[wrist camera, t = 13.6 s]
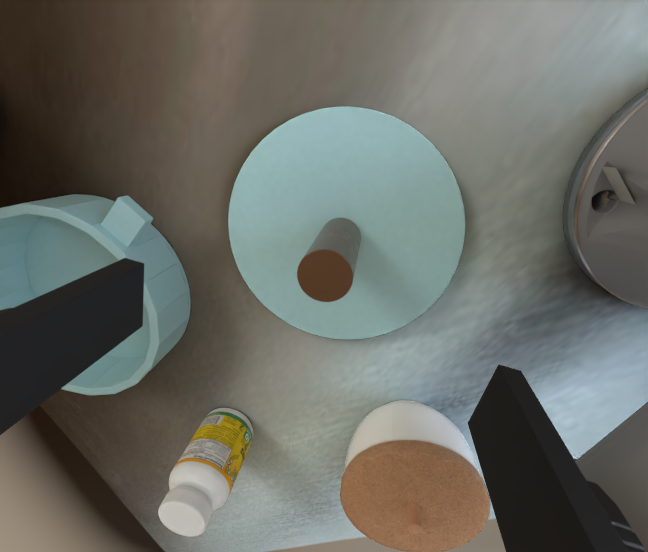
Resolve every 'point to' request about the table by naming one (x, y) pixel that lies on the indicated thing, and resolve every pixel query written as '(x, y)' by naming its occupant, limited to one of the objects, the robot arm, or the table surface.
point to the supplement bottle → (206, 471)
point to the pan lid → (346, 223)
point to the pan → (91, 255)
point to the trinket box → (413, 480)
